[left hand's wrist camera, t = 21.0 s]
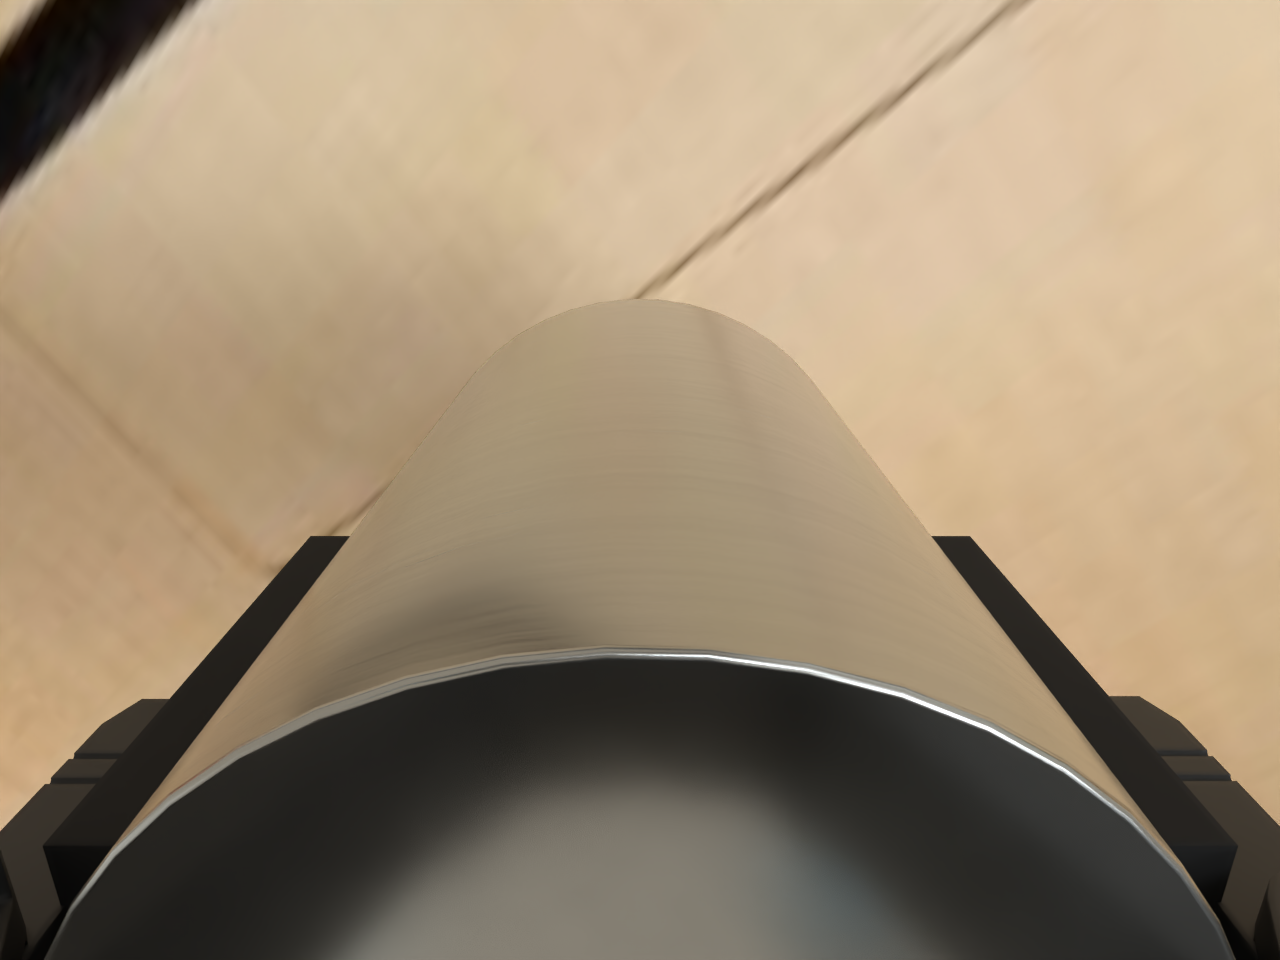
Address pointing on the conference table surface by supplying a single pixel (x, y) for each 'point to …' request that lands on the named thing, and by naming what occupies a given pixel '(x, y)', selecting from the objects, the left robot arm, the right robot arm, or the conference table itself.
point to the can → (640, 708)
